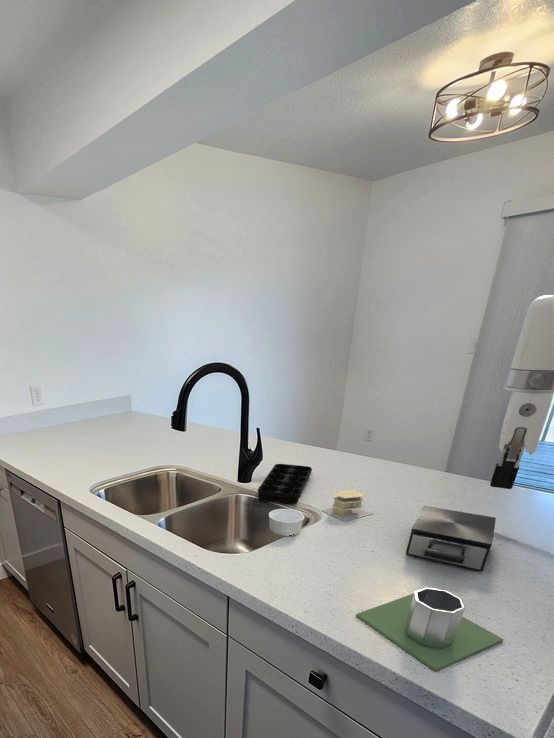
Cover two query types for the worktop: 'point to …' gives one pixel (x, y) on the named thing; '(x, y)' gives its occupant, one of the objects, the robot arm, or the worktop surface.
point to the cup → (434, 617)
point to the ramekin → (285, 521)
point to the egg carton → (284, 483)
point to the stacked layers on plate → (347, 506)
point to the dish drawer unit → (455, 528)
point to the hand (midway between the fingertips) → (500, 486)
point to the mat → (393, 627)
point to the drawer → (447, 550)
